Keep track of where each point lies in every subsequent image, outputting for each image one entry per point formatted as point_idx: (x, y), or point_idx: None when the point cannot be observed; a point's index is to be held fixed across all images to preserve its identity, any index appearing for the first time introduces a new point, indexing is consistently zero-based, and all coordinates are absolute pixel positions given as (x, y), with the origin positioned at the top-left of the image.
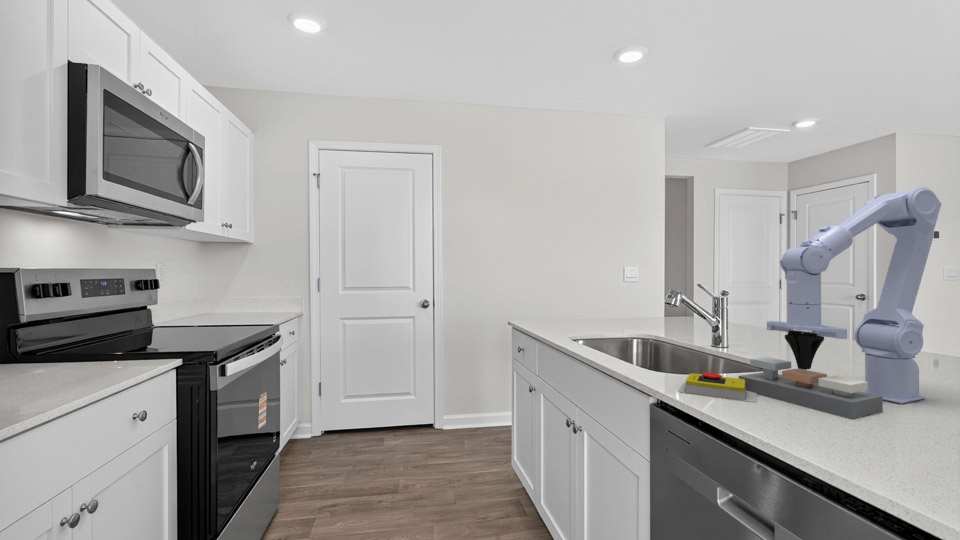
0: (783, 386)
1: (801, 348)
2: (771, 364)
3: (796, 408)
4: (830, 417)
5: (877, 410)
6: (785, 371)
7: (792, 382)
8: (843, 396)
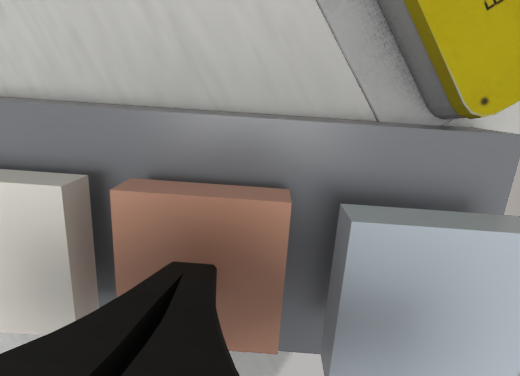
0: (246, 117)
1: (87, 349)
2: (376, 219)
3: (159, 44)
4: (27, 41)
5: None
6: (268, 201)
7: None
8: None
